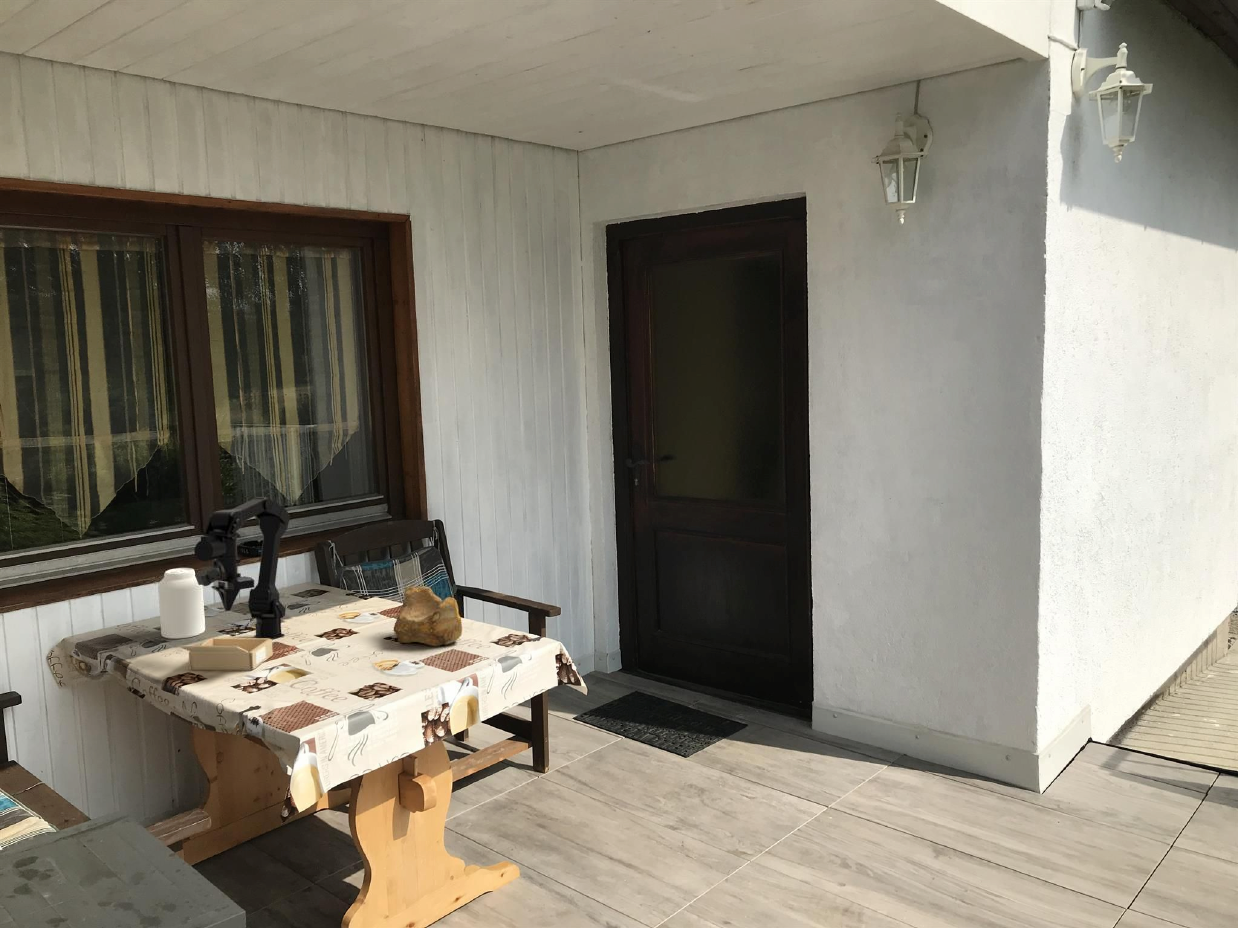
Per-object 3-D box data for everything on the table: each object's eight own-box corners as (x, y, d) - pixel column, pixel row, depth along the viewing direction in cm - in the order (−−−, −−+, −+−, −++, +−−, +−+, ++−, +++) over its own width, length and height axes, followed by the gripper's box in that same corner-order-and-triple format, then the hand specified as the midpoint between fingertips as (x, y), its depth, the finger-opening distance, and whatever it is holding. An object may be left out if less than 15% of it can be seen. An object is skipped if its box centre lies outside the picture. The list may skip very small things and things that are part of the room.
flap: (191, 650, 268) (179, 645, 262) (248, 651, 267) (237, 645, 260) (191, 651, 268) (179, 646, 261) (247, 652, 267) (236, 647, 260)
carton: (212, 654, 282) (211, 637, 282) (274, 655, 281) (273, 638, 280) (189, 669, 269) (188, 651, 268) (253, 670, 268) (252, 652, 267)
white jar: (174, 641, 295) (170, 576, 293) (153, 635, 303) (148, 571, 301) (213, 632, 305) (209, 568, 303) (191, 625, 313) (187, 563, 310)
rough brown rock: (377, 641, 296) (372, 594, 293) (423, 625, 307) (419, 580, 304) (421, 660, 280) (417, 610, 277) (468, 642, 291) (464, 595, 288)
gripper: (181, 556, 276) (182, 611, 277) (217, 562, 265) (219, 620, 266) (218, 551, 285) (219, 605, 286) (254, 557, 274) (256, 613, 275)
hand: (227, 610), depth 278 cm, fingers closed
